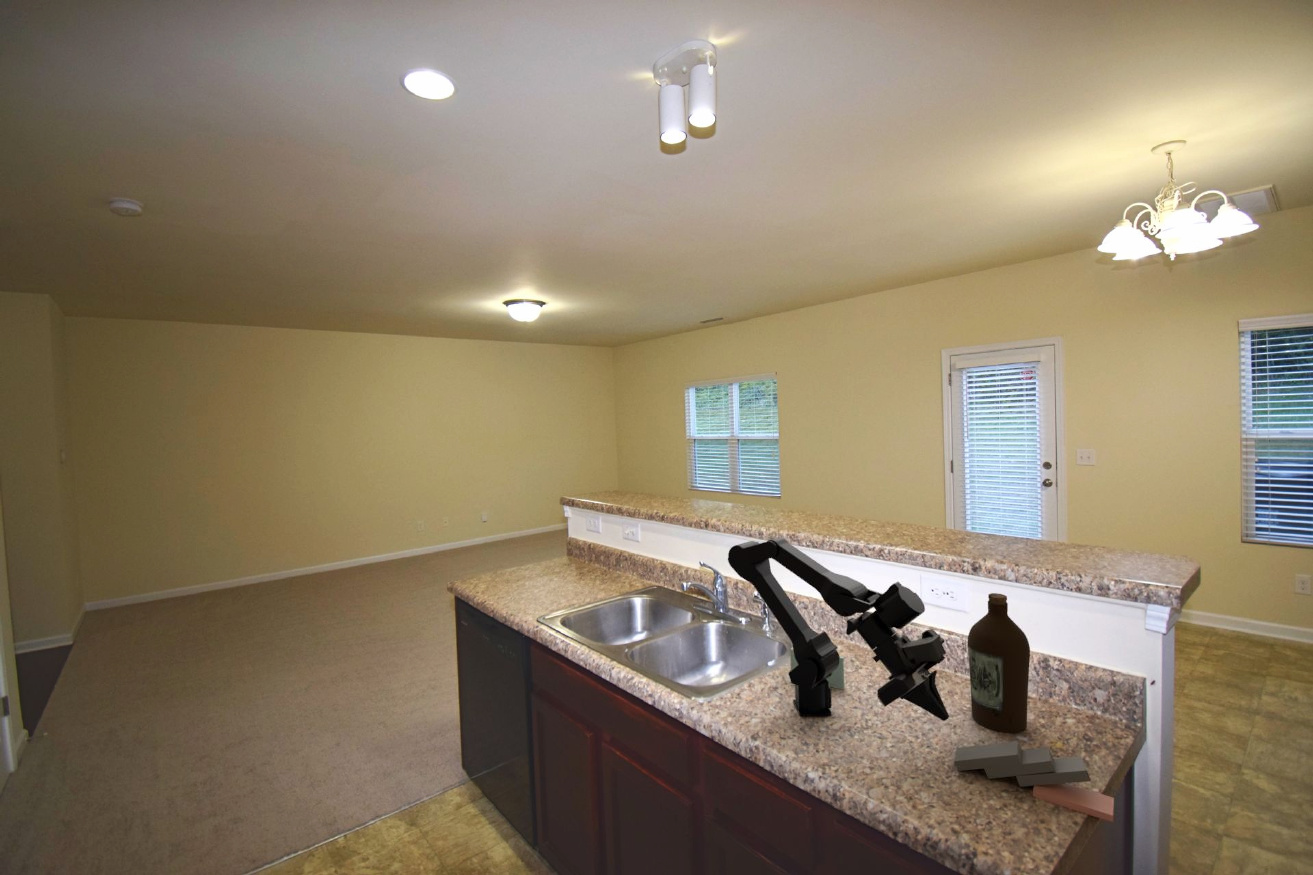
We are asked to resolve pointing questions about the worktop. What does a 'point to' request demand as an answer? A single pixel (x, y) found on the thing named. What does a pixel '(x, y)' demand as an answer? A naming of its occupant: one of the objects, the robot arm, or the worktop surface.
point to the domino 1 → (988, 756)
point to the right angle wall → (835, 678)
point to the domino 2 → (1026, 764)
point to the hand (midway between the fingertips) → (946, 718)
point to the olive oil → (999, 669)
